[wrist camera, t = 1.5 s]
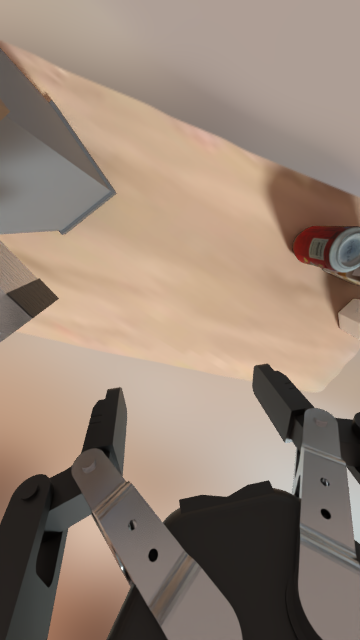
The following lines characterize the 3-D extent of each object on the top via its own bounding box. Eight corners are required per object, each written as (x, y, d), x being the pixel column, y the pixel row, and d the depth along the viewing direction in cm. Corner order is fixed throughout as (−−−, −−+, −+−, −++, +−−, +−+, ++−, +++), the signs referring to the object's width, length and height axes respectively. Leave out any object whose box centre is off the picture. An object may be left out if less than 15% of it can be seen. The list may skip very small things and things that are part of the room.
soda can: (289, 265, 47) (331, 278, 36) (288, 230, 44) (333, 232, 33) (322, 257, 47) (374, 267, 36) (323, 222, 44) (380, 221, 33)
